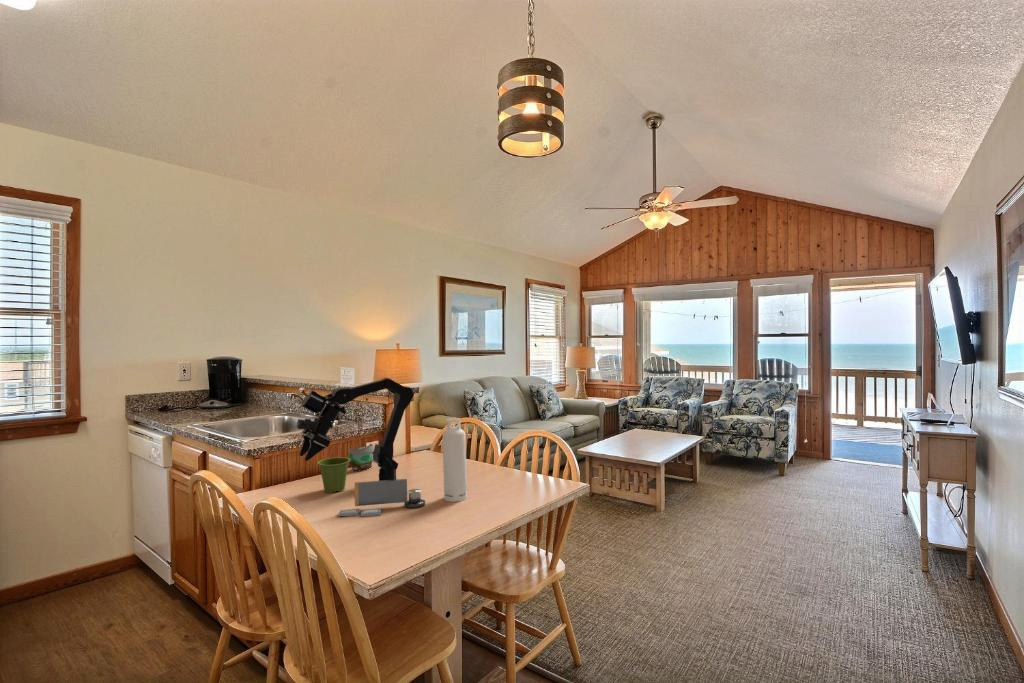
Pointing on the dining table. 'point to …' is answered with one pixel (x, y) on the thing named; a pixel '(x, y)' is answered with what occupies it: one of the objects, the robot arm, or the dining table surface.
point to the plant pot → (334, 473)
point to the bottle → (454, 462)
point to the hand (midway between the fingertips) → (303, 458)
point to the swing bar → (384, 492)
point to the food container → (361, 458)
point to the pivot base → (414, 504)
